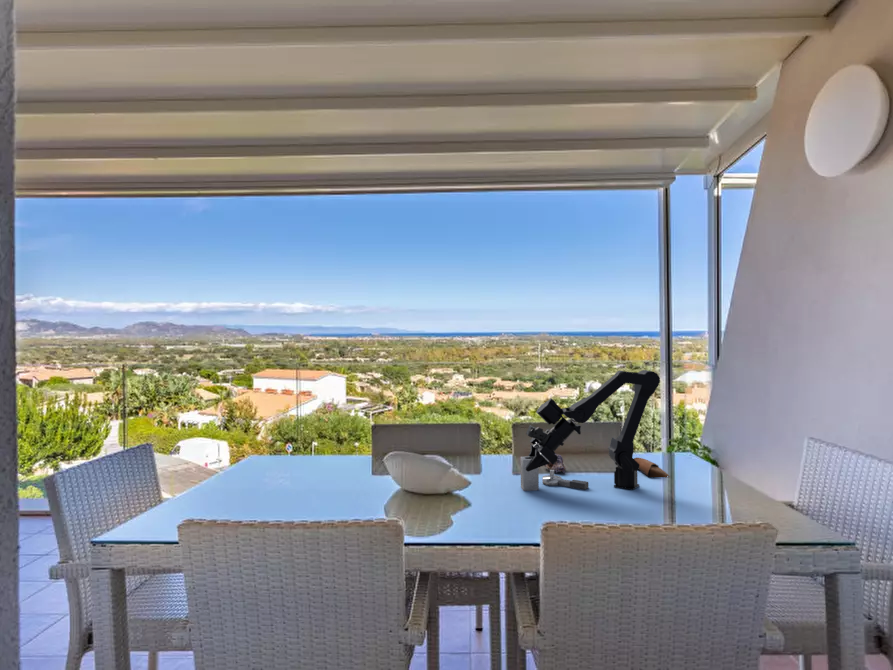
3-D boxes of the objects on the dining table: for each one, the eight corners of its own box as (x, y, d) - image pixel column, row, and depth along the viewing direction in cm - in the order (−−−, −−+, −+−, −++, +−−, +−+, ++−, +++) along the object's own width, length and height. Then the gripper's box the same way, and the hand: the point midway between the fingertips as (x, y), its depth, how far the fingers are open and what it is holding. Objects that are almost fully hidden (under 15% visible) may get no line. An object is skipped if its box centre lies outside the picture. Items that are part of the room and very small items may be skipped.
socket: (535, 486, 199) (535, 456, 198) (538, 490, 194) (538, 459, 193) (520, 486, 198) (520, 456, 198) (523, 490, 193) (523, 459, 193)
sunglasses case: (672, 477, 208) (662, 461, 208) (655, 487, 208) (645, 471, 208) (652, 465, 226) (643, 450, 226) (637, 475, 226) (628, 460, 226)
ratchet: (590, 486, 197) (590, 473, 197) (582, 491, 192) (582, 477, 192) (547, 480, 207) (547, 467, 207) (539, 484, 202) (538, 470, 202)
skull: (569, 475, 214) (569, 458, 214) (547, 475, 214) (547, 458, 214) (562, 467, 226) (562, 451, 226) (542, 467, 226) (542, 451, 226)
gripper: (535, 413, 205) (503, 445, 205) (546, 421, 187) (511, 457, 186) (558, 435, 206) (527, 468, 205) (572, 446, 187) (537, 482, 187)
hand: (525, 468), depth 196 cm, fingers closed on socket, 5 cm apart
